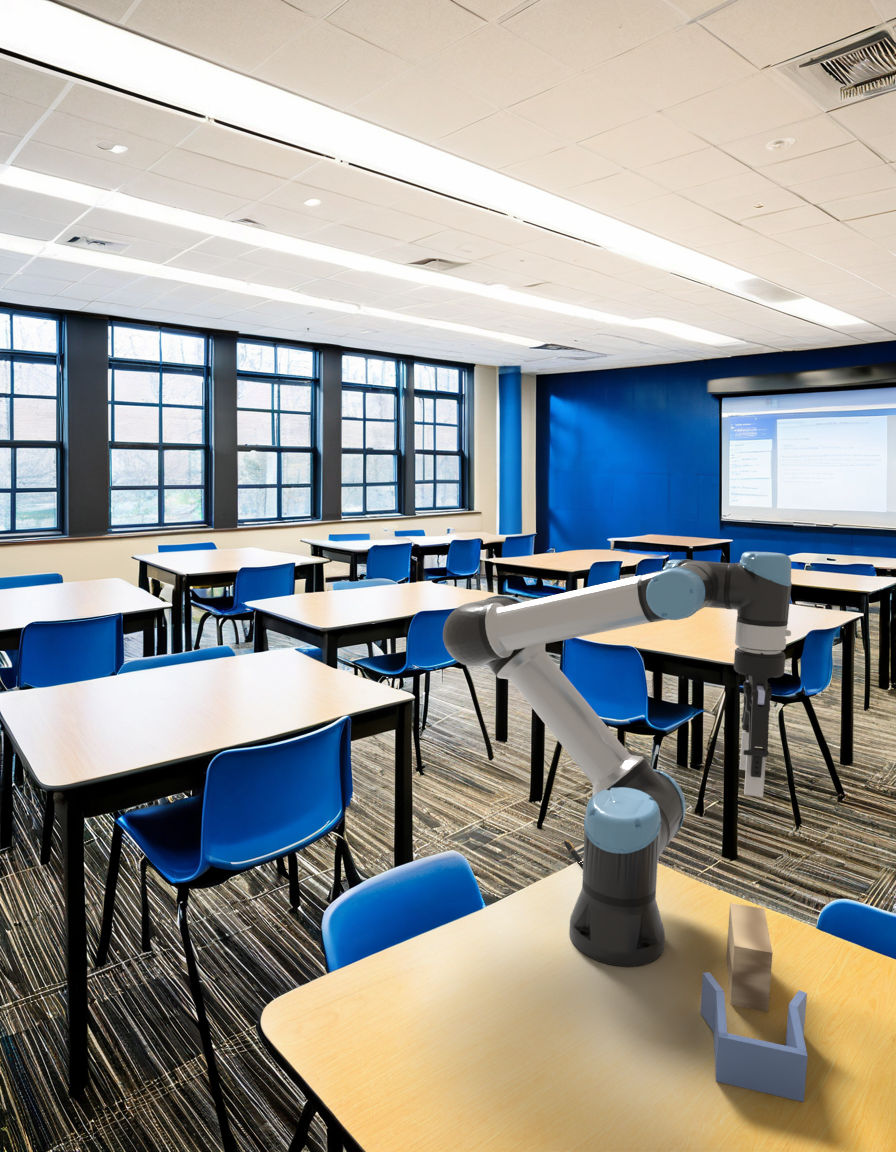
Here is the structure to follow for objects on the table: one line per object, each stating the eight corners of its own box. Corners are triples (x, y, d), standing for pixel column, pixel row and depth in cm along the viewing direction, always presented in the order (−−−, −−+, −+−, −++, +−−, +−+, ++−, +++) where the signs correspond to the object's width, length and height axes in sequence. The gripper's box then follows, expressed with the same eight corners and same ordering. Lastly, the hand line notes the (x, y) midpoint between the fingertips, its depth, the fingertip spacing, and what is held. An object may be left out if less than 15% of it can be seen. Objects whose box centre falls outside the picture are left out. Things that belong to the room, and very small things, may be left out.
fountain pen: (593, 878, 145) (594, 870, 145) (587, 878, 144) (588, 871, 144) (566, 843, 159) (567, 836, 159) (561, 843, 158) (561, 837, 158)
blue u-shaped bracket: (701, 1078, 95) (704, 1033, 95) (700, 1010, 108) (702, 971, 107) (818, 1105, 92) (822, 1059, 91) (803, 1032, 104) (806, 991, 103)
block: (730, 1004, 109) (734, 945, 108) (726, 956, 121) (730, 902, 120) (768, 1012, 108) (772, 952, 107) (760, 963, 119) (764, 908, 118)
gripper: (795, 666, 110) (784, 813, 113) (777, 637, 132) (768, 761, 135) (739, 662, 112) (729, 806, 115) (731, 634, 134) (723, 755, 137)
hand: (750, 781), depth 125 cm, fingers open, 11 cm apart
